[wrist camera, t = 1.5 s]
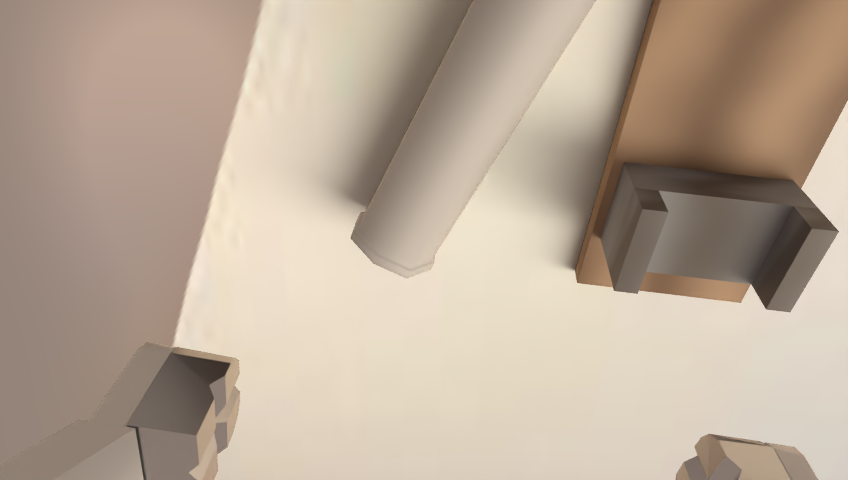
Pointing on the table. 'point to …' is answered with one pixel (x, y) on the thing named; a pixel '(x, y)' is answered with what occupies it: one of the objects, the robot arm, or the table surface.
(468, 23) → the tube
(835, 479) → the table surface
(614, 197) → the bracket stand
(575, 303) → the table surface
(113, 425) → the robot arm
